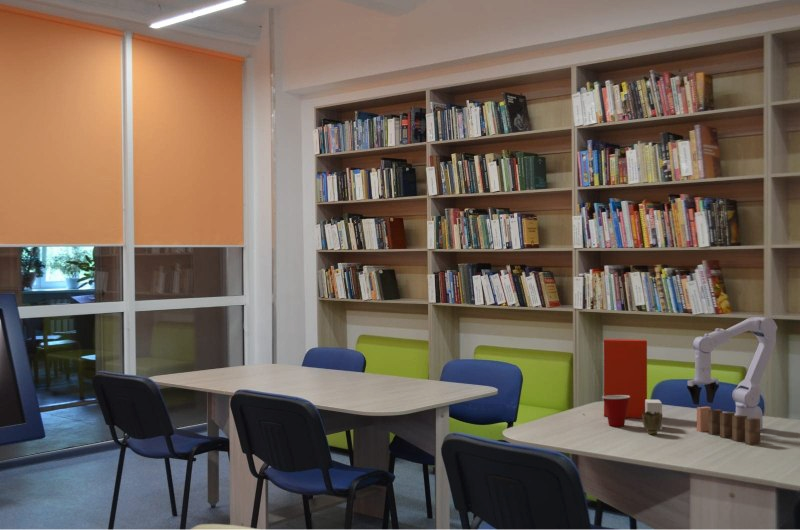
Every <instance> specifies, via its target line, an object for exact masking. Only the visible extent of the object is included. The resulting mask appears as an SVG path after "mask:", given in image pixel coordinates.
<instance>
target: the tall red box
mask: <svg viewBox="0 0 800 530" xmlns="http://www.w3.org/2000/svg"><path fill="white" fill-rule="evenodd" d="M608 395H628V396H630V398H629V401H628V406H627V412H626V418H629V419H630V418H632V419H633V418H634V419H636V418H637V419H643V418H642V412H643V413H644V412H645V399H648V340H647V339H632V338H631V339H627V338H626V339H624V338H623V339H621V338H603V396H608ZM603 416H604V417H606V418H608V417H607V413H606V407H605V403H604V402H603Z"/></svg>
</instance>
